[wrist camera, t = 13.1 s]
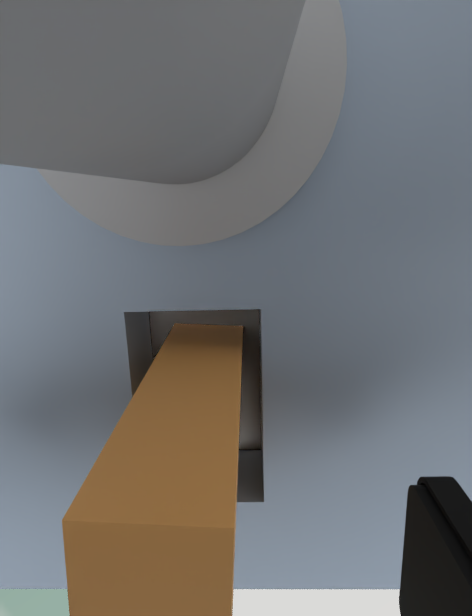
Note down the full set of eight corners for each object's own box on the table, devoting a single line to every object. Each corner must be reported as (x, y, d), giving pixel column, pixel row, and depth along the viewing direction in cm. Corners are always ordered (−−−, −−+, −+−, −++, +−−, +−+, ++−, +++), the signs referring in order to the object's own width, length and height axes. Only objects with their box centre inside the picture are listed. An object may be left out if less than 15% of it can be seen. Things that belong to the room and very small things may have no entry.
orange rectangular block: (243, 325, 16) (233, 528, 6) (239, 436, 17) (226, 751, 7) (174, 323, 16) (61, 520, 6) (175, 433, 17) (80, 743, 7)
